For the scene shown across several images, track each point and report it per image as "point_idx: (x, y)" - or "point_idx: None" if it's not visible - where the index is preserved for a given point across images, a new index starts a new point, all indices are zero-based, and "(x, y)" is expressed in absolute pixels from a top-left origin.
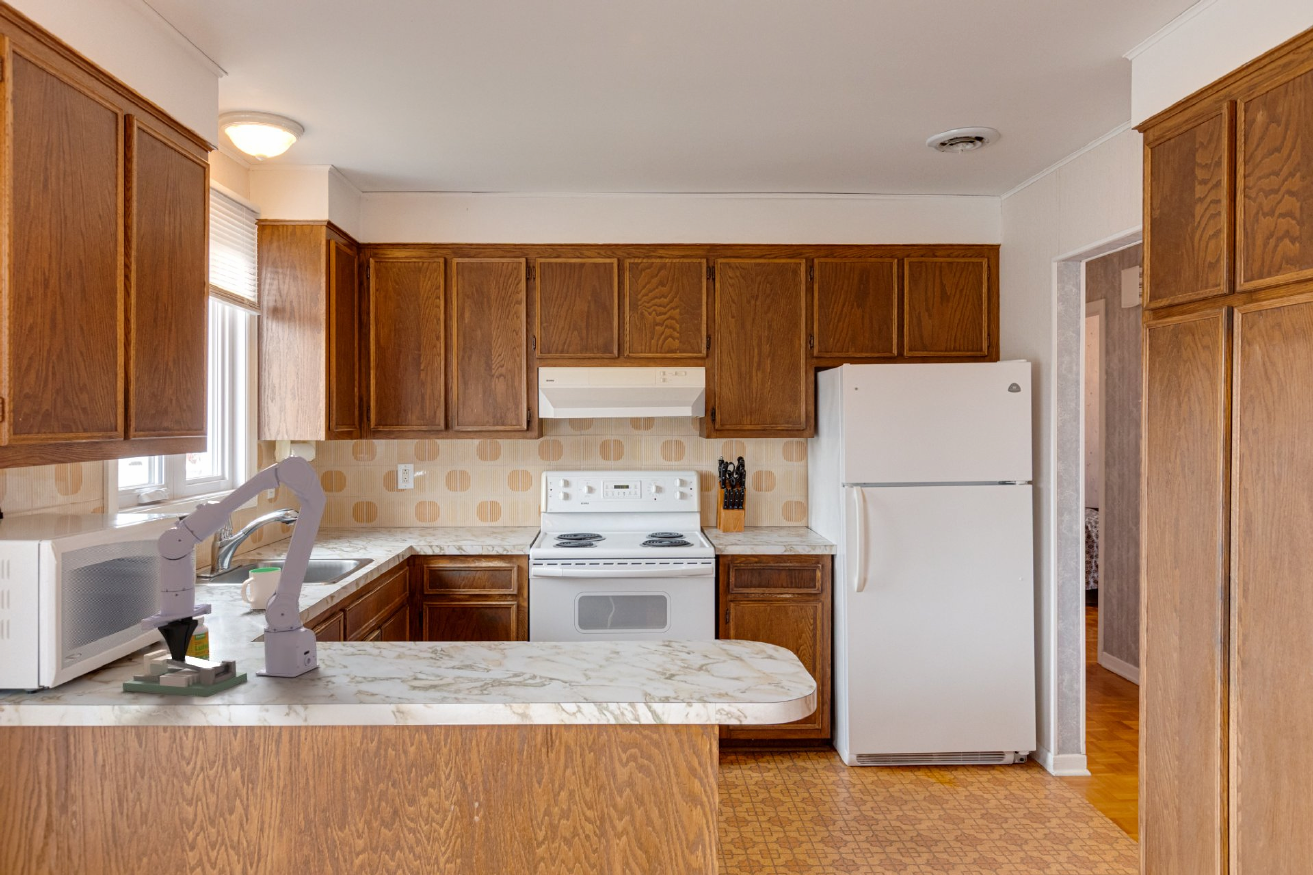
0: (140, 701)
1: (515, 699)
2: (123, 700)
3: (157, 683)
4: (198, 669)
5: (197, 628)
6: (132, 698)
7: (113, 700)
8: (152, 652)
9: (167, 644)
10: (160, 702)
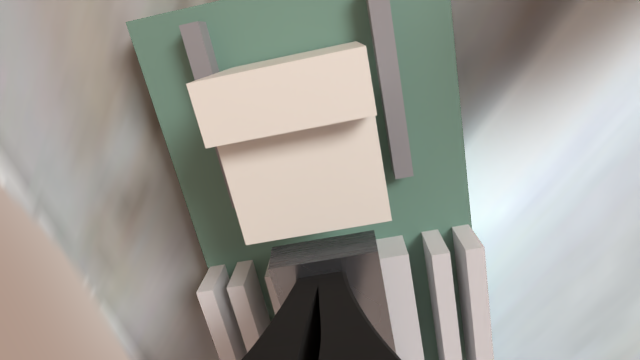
0: (122, 269)
1: None
2: (84, 189)
3: (218, 229)
4: None
5: None
6: (119, 199)
7: (56, 144)
8: (270, 71)
9: (257, 342)
10: (161, 348)
